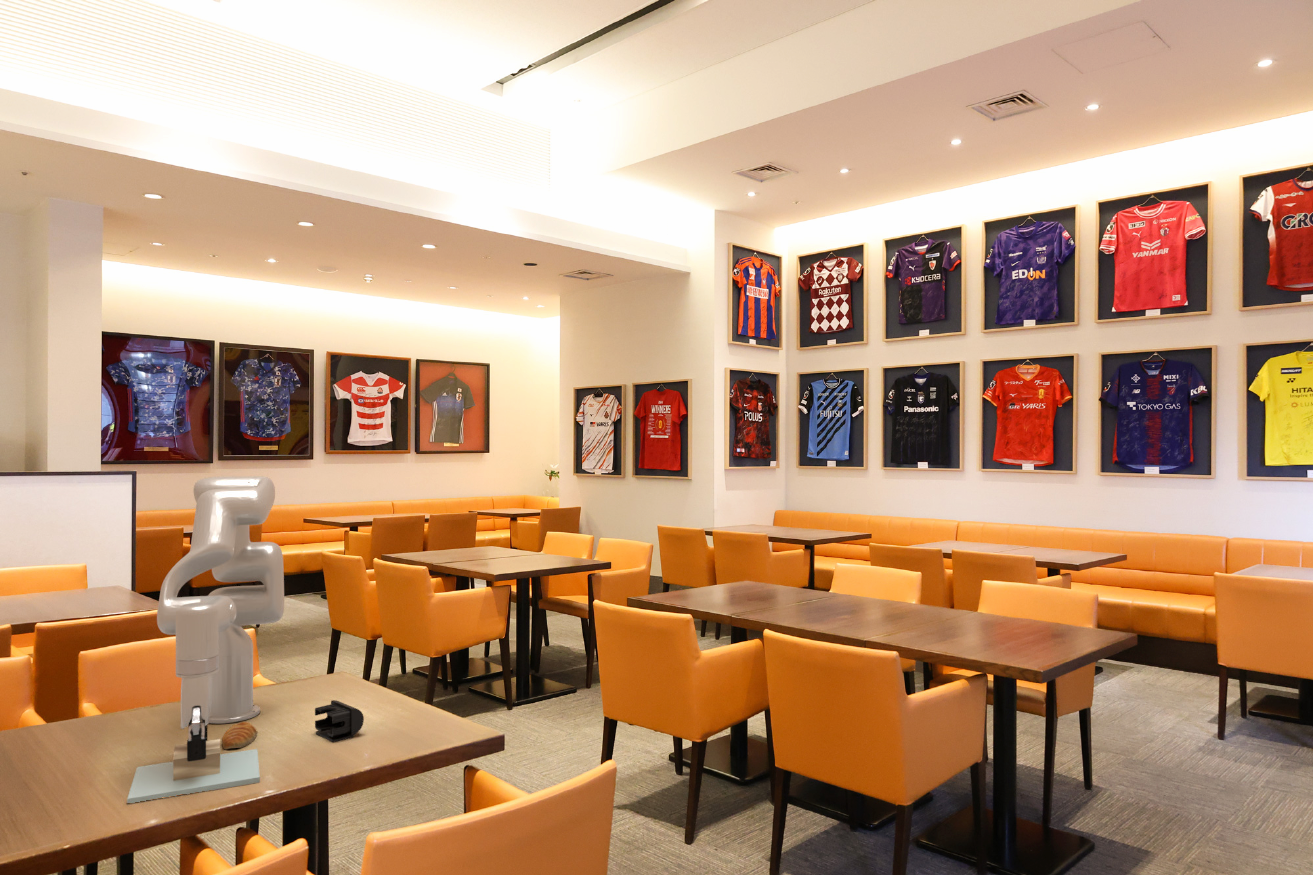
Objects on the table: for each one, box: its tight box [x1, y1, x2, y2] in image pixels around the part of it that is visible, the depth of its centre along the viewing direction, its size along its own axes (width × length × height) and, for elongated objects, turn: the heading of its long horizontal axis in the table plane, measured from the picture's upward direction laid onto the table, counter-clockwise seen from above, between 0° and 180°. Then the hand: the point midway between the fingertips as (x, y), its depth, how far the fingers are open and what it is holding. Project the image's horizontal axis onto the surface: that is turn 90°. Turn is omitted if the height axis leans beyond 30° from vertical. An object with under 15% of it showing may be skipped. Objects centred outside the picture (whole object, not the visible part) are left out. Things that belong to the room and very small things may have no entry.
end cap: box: [314, 699, 365, 743], centre depth 193 cm, size 10×7×7 cm
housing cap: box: [172, 738, 221, 781], centre depth 168 cm, size 6×8×5 cm
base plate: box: [126, 748, 261, 804], centre depth 168 cm, size 18×22×4 cm
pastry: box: [221, 721, 259, 750], centre depth 187 cm, size 9×7×4 cm
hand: (197, 751), depth 168 cm, fingers open, 9 cm apart
